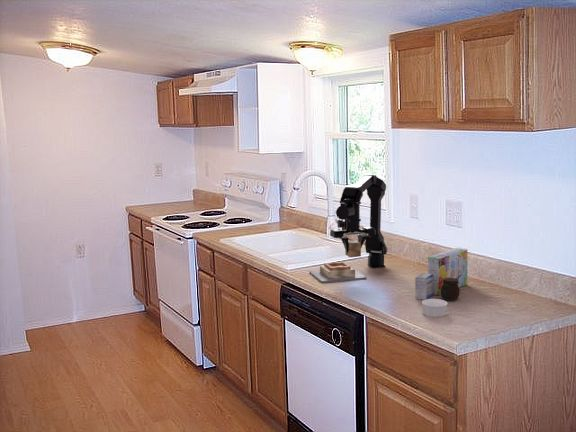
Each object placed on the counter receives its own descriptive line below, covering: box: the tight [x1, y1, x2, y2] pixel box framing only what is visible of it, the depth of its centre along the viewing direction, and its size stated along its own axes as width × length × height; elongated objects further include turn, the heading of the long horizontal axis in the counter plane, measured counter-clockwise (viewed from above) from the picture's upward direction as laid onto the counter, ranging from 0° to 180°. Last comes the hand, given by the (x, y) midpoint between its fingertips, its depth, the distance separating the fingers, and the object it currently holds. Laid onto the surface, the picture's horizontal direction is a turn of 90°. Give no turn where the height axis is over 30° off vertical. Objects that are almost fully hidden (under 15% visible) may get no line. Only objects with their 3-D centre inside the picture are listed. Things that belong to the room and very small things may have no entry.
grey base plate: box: [308, 269, 367, 284], centre depth 284 cm, size 20×18×1 cm
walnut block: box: [345, 239, 362, 258], centre depth 277 cm, size 5×5×6 cm
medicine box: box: [414, 272, 434, 301], centre depth 250 cm, size 8×4×9 cm, turn 148°
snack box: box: [427, 247, 468, 296], centre depth 260 cm, size 21×6×15 cm, turn 134°
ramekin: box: [421, 298, 448, 318], centre depth 230 cm, size 9×9×4 cm
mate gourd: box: [440, 274, 462, 302], centre depth 246 cm, size 7×8×10 cm
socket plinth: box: [319, 261, 356, 279], centre depth 284 cm, size 12×12×4 cm
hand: (353, 252), depth 277 cm, fingers closed on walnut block, 5 cm apart
